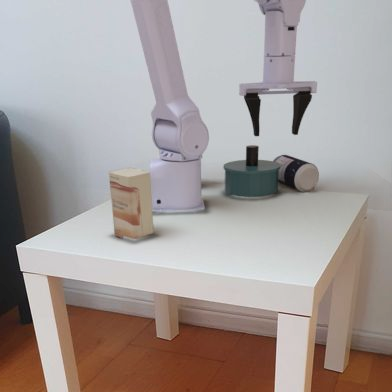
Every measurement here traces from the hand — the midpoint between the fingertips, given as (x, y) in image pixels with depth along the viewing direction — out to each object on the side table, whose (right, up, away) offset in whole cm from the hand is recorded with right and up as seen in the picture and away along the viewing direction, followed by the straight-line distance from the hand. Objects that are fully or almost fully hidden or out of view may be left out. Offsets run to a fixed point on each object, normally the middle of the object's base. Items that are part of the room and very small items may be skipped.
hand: (275, 134), depth 104 cm
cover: (-5, -6, 0) cm, 8 cm away
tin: (-5, -11, +3) cm, 12 cm away
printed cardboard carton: (-26, -24, -19) cm, 40 cm away
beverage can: (+6, -9, -1) cm, 11 cm away
